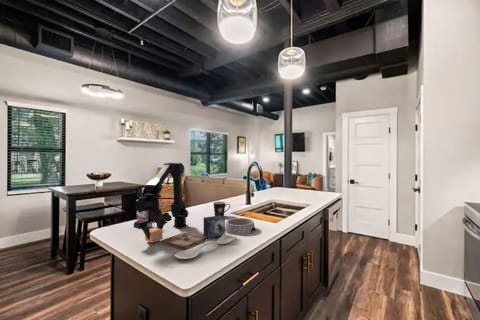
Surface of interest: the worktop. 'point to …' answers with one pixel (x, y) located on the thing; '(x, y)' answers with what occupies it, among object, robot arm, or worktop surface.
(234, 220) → the dog bowl
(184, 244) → the base plate
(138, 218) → the candy bar box
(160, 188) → the robot arm
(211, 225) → the small box
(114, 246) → the worktop surface
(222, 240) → the spoon
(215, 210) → the coffee mug
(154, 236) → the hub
